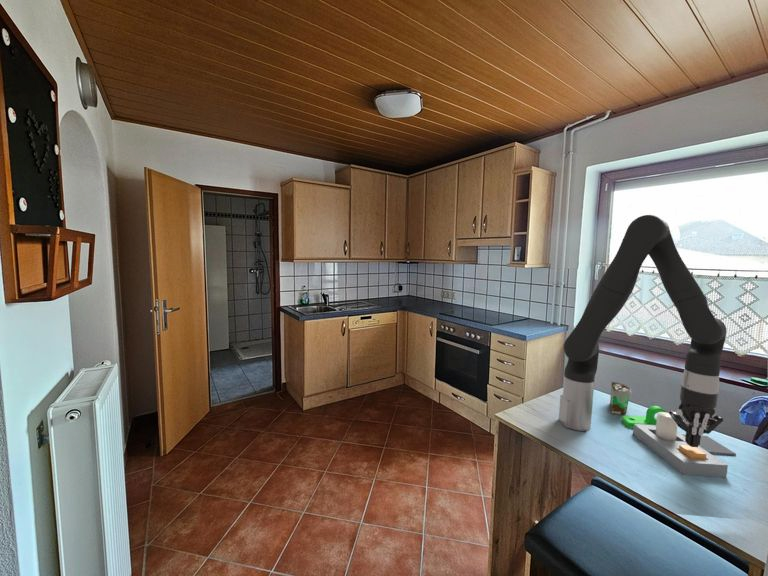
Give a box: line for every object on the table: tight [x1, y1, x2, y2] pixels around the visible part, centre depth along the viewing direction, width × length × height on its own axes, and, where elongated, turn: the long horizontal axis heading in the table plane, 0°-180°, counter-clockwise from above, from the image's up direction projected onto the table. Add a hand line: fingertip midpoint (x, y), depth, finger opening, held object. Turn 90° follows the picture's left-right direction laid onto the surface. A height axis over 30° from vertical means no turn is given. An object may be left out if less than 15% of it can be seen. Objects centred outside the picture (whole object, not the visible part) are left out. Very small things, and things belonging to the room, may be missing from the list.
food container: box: [609, 380, 633, 416], centre depth 127 cm, size 12×6×10 cm, turn 148°
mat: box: [682, 434, 737, 456], centre depth 105 cm, size 10×10×1 cm
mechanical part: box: [622, 405, 668, 429], centre depth 117 cm, size 12×6×8 cm, turn 83°
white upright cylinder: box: [655, 411, 679, 441], centre depth 104 cm, size 5×5×10 cm
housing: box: [632, 424, 729, 478], centre depth 100 cm, size 11×21×4 cm, turn 174°
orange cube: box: [679, 445, 706, 460], centre depth 94 cm, size 4×4×4 cm
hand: (692, 445), depth 94 cm, fingers closed
